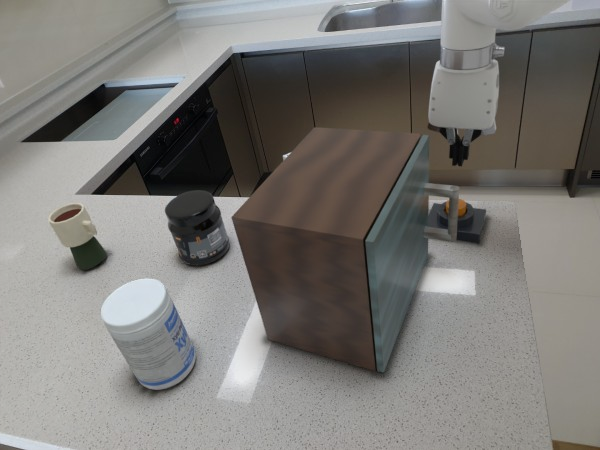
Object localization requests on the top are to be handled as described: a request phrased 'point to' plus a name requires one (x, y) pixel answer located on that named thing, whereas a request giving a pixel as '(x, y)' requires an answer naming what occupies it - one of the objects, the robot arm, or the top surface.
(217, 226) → the supplement container
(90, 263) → the character mug
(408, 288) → the cupboard door
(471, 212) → the switch block
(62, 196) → the top surface
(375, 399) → the top surface
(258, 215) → the cupboard
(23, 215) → the top surface
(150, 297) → the supplement tub
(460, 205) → the button
